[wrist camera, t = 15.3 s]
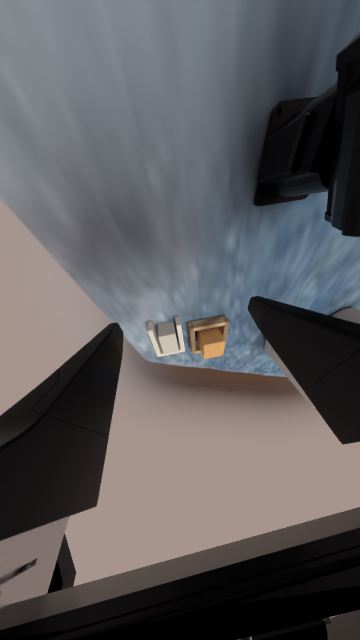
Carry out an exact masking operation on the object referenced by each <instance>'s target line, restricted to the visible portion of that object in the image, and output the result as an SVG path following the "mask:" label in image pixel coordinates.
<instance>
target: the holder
mask: <svg viewBox="0 0 360 640" xmlns="http://www.w3.org/2000/svg"><path fill="white" fill-rule="evenodd" d="M219 326H220V328H219V330H220V332H221V334H222V336H223V337H224V339H225V342H226V337H227V331H228V326H229V320H228V319H227V318H226V316H225V315H223V316H218V317H212V318H207V319H202V320H197V321H192V322H188V328H189V338H190V348H191V351H192V354H196V353H201V349H200V347H199V344H195V333H194V331H198V330H203V329H208V328H213V327H219ZM224 348H225V347H224Z"/></svg>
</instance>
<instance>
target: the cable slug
mask: <svg viewBox="0 0 360 640" xmlns="http://www.w3.org/2000/svg"><path fill="white" fill-rule="evenodd" d="M158 338H159V341H160V344H161V347H162V350H163V353H164V354H167V353H172V352H176V351H179V349H178V344H177V338H176V333H175V328H174V323H173V321H172V322H167V323H162V324H158Z"/></svg>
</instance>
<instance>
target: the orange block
mask: <svg viewBox="0 0 360 640" xmlns="http://www.w3.org/2000/svg"><path fill="white" fill-rule="evenodd" d="M197 340H198V344H199V347H200V349H201V352H202V355H203V358H204V359H207V358H212V357H217V356H222V355H223V352H224V347H225V339H224V337H223V336H222V334H221V332H220V330H219V328H218V327H213V328H208V329H203V330H198V331H197Z"/></svg>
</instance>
